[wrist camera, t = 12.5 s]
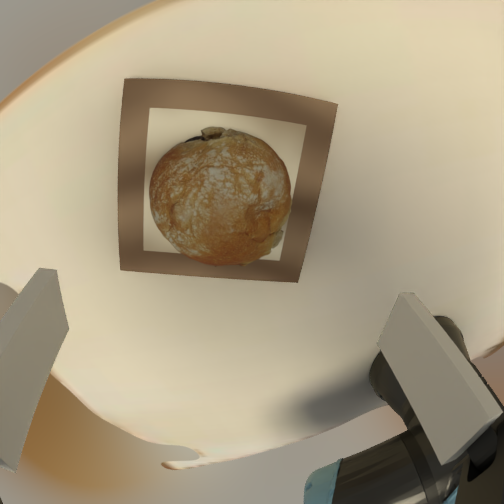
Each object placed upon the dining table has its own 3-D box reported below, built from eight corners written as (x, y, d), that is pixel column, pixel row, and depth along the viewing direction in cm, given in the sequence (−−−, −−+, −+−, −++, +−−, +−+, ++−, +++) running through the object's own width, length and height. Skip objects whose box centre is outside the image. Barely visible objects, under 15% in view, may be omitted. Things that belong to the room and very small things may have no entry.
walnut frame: (294, 273, 30) (298, 283, 29) (124, 261, 28) (120, 270, 26) (331, 103, 23) (338, 104, 22) (129, 79, 20) (124, 78, 19)
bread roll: (260, 124, 25) (255, 85, 17) (310, 236, 26) (327, 241, 18) (154, 172, 26) (112, 154, 18) (200, 282, 27) (172, 305, 19)
